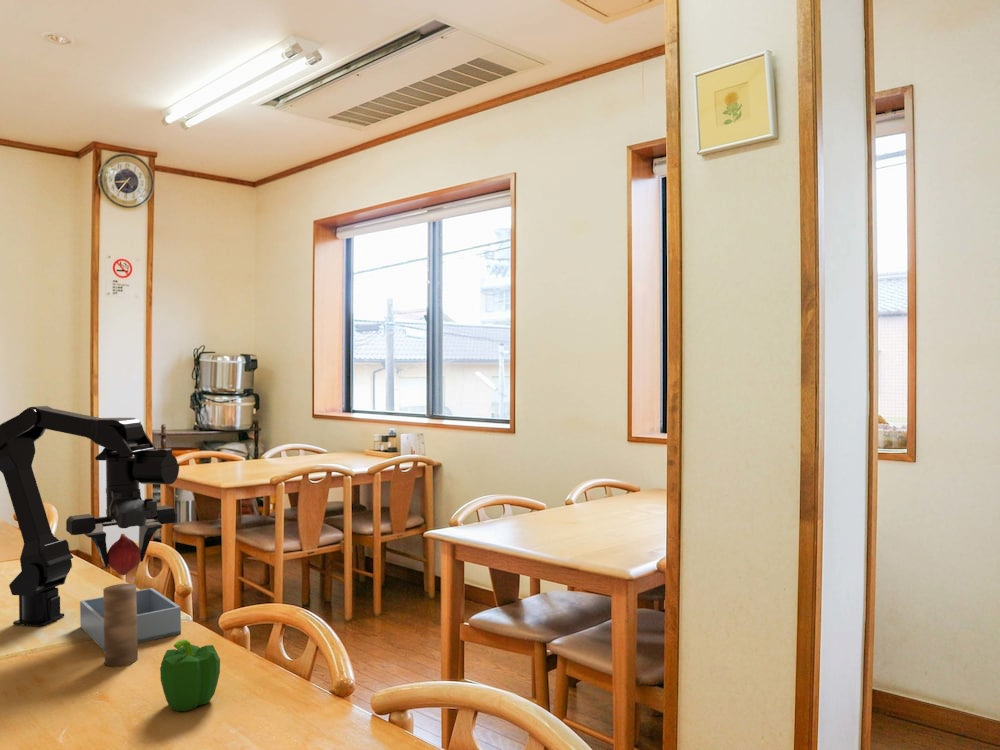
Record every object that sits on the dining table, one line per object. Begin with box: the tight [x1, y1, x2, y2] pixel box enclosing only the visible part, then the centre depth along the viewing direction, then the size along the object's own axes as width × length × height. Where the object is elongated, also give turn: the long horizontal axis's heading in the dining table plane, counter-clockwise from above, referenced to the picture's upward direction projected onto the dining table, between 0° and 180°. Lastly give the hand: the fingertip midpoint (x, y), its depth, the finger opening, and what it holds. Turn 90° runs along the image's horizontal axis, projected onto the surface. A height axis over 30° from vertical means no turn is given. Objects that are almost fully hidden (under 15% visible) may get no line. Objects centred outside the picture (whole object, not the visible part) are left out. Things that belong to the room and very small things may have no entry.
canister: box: [102, 583, 139, 668], centre depth 132 cm, size 5×5×12 cm
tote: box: [79, 587, 182, 652], centre depth 148 cm, size 17×13×5 cm
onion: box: [107, 533, 141, 576], centre depth 151 cm, size 6×6×8 cm
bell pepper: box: [159, 639, 221, 712], centre depth 115 cm, size 8×8×10 cm
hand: (123, 564), depth 151 cm, fingers closed on onion, 6 cm apart
